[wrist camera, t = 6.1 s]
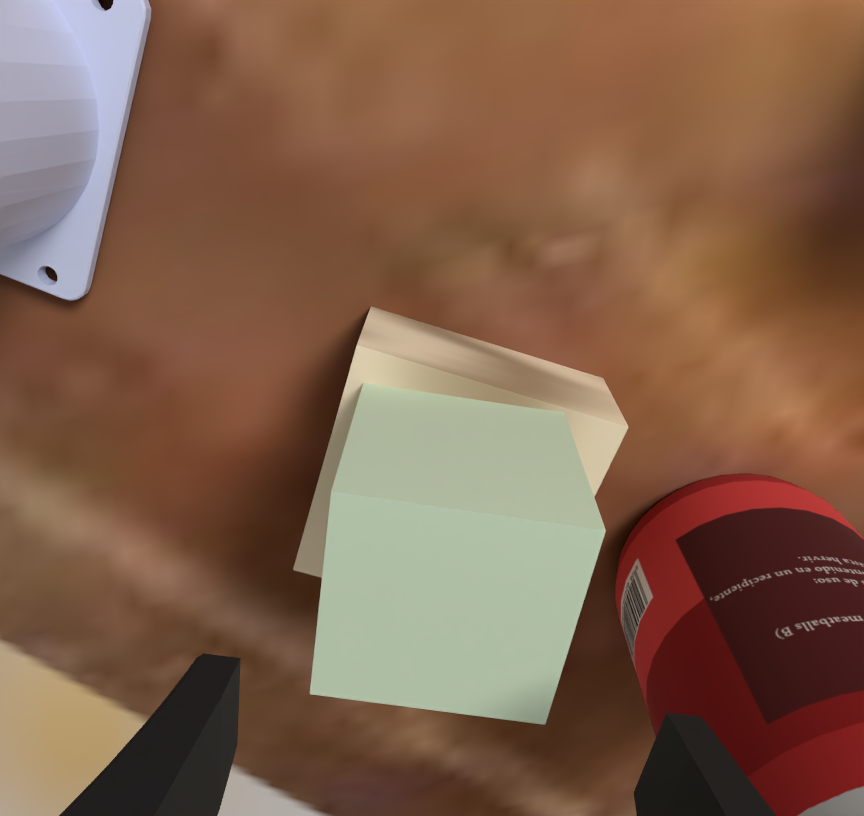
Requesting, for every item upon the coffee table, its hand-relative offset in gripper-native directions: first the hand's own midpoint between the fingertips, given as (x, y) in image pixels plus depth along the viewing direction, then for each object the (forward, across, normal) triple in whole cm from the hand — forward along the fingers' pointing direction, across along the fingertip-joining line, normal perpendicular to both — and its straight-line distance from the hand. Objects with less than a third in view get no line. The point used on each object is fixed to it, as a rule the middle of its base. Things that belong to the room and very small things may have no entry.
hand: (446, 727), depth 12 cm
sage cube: (+7, 0, 0) cm, 7 cm away
